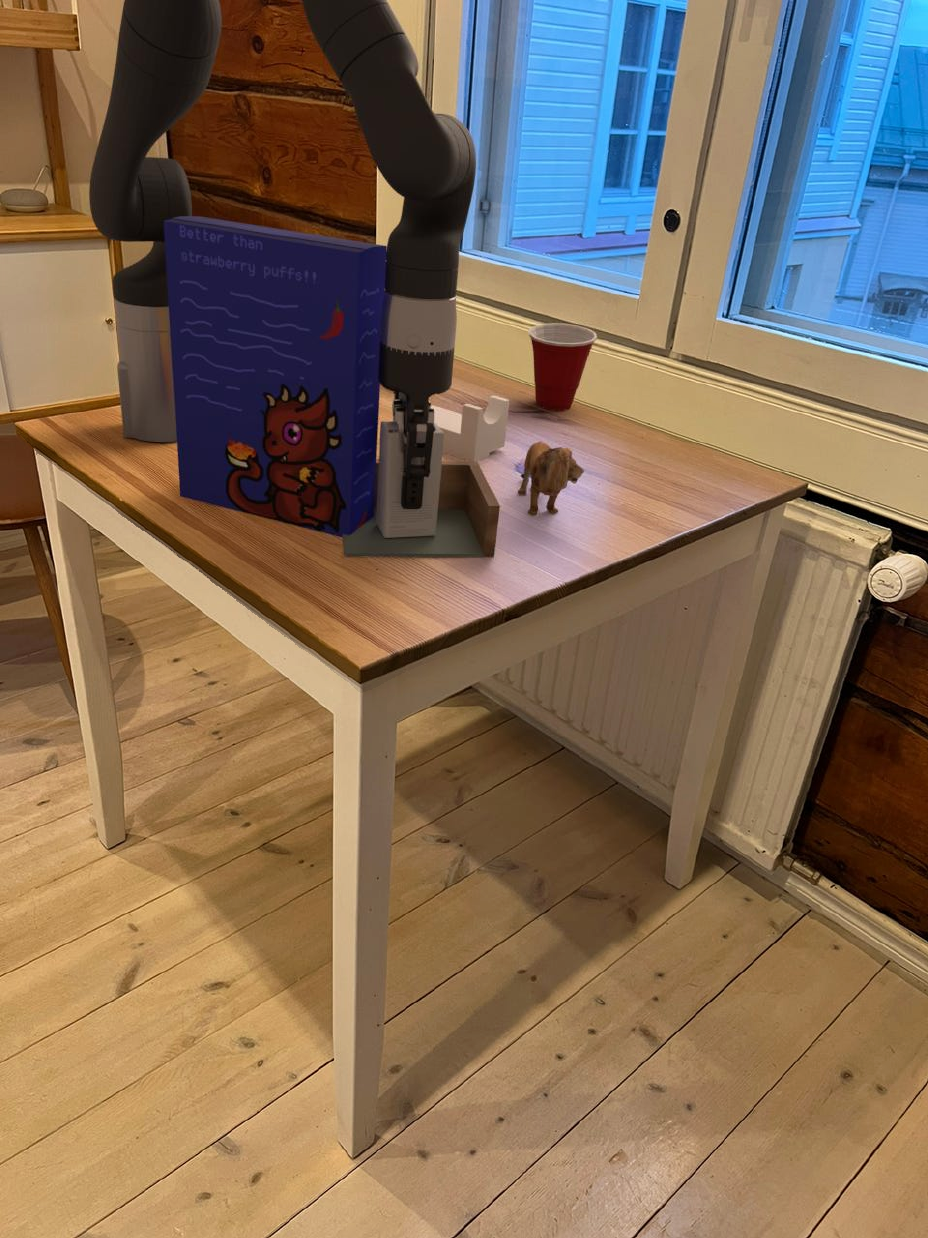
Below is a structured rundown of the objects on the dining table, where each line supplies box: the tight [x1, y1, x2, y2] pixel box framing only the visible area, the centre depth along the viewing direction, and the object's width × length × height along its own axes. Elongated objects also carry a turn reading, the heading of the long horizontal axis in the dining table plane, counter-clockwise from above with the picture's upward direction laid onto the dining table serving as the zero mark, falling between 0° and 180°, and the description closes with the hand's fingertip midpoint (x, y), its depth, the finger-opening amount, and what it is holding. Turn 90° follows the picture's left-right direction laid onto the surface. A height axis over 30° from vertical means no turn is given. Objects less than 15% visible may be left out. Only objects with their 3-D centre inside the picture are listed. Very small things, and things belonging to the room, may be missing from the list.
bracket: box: [431, 395, 510, 462], centre depth 130 cm, size 13×7×8 cm, turn 53°
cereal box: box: [164, 215, 387, 538], centre depth 100 cm, size 22×6×30 cm, turn 69°
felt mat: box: [341, 509, 491, 558], centre depth 105 cm, size 16×13×1 cm
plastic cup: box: [528, 322, 598, 412], centre depth 150 cm, size 11×11×12 cm
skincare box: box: [376, 420, 444, 538], centre depth 101 cm, size 6×4×12 cm
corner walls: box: [374, 458, 501, 558], centre depth 104 cm, size 16×13×6 cm
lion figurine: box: [517, 440, 585, 516], centre depth 114 cm, size 15×5×9 cm, turn 15°
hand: (407, 495), depth 102 cm, fingers open, 5 cm apart
